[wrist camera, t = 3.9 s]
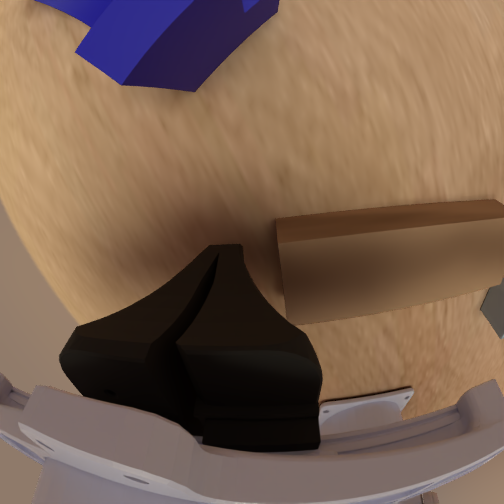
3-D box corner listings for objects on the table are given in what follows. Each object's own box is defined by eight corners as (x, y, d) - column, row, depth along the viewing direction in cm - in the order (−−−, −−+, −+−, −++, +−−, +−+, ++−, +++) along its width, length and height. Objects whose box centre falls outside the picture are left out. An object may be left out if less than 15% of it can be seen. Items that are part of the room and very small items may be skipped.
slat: (478, 260, 12) (500, 284, 10) (284, 290, 14) (287, 326, 12) (491, 196, 10) (519, 216, 8) (275, 215, 12) (277, 243, 10)
